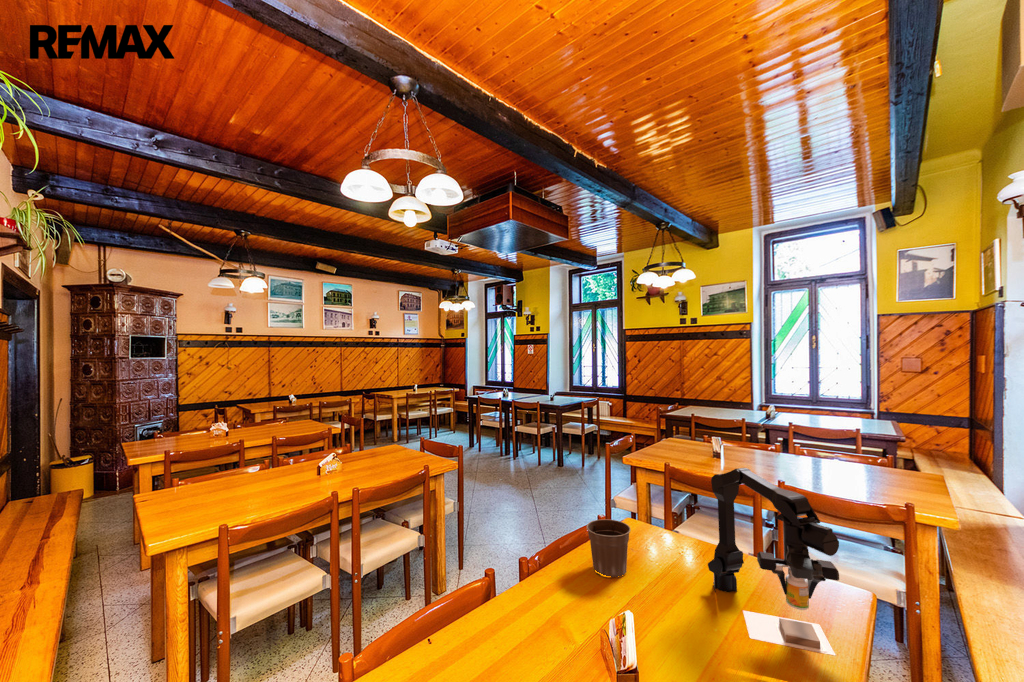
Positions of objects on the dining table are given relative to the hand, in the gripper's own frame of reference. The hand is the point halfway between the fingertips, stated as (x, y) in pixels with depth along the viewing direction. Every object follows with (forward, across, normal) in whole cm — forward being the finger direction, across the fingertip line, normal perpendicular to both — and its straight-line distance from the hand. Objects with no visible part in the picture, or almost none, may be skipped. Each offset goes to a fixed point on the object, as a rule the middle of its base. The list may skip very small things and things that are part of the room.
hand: (797, 596), depth 120 cm
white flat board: (+12, -3, +1) cm, 12 cm away
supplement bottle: (+3, 0, 0) cm, 3 cm away
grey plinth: (+11, 0, 0) cm, 11 cm away
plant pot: (+12, -56, +21) cm, 61 cm away
